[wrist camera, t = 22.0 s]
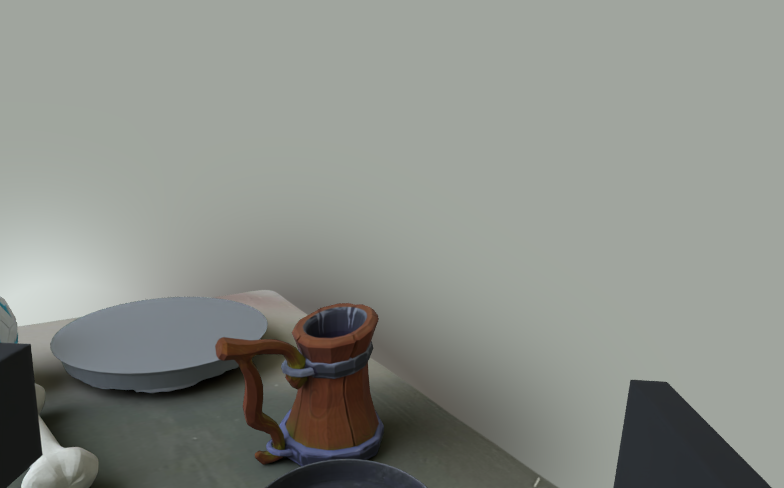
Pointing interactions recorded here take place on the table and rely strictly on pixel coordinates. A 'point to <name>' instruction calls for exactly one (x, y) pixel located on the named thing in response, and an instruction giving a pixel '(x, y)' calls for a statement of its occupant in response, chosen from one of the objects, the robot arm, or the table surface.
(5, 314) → the puzzle ball
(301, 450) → the mug
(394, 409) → the table surface
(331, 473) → the travel mug
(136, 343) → the flat disc
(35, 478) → the dog toy
